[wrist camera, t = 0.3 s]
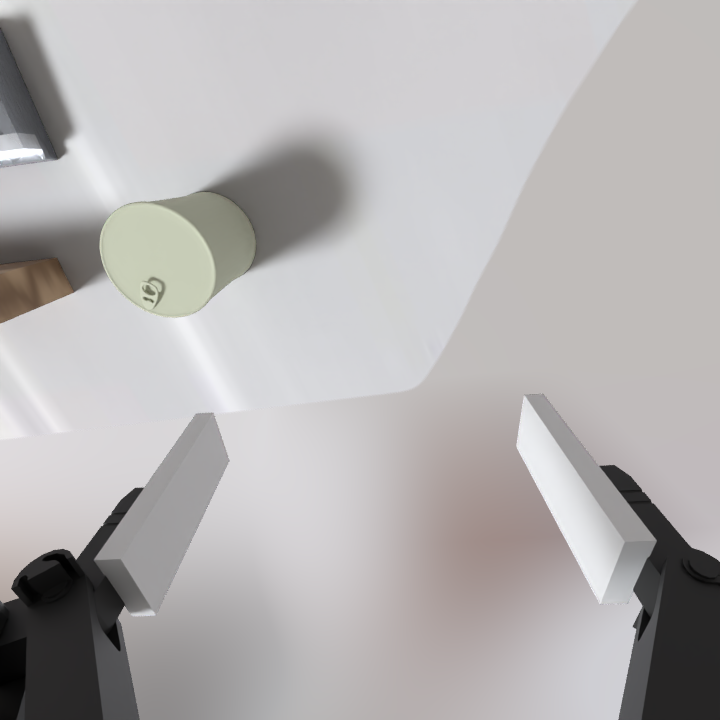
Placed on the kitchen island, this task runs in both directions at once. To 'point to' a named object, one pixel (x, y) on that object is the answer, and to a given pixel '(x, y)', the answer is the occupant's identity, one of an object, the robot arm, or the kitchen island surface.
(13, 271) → the door panel
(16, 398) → the kitchen island surface
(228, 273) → the can
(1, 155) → the door track
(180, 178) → the kitchen island surface
